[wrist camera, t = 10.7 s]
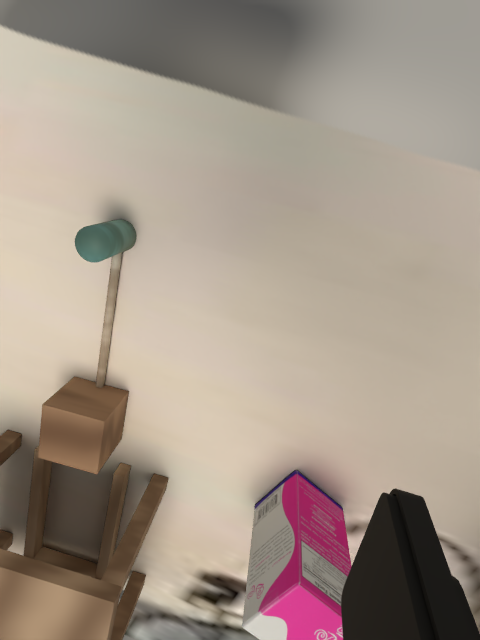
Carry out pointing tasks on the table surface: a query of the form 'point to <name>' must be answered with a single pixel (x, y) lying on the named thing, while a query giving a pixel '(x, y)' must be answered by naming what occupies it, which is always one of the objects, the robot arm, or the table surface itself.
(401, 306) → the table surface
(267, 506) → the supplement box
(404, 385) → the table surface
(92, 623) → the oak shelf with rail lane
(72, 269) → the table surface
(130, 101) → the table surface
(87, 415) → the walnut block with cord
